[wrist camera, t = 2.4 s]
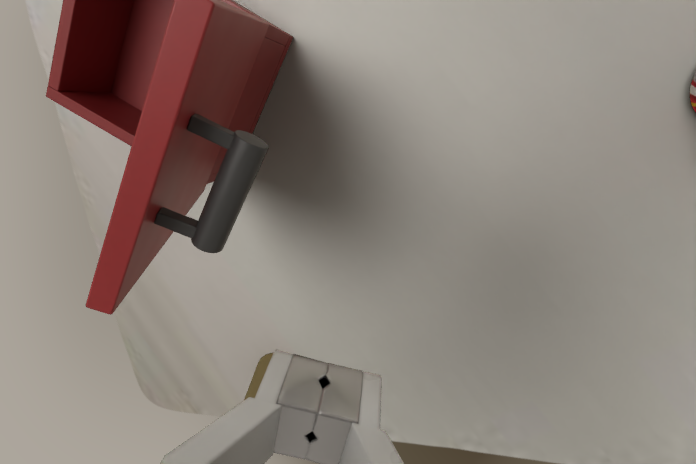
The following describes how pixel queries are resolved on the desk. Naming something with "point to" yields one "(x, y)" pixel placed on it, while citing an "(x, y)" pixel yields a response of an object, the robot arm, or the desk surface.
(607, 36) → the desk surface
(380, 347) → the desk surface
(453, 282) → the desk surface
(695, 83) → the soda can
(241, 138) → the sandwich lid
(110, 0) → the red open box
